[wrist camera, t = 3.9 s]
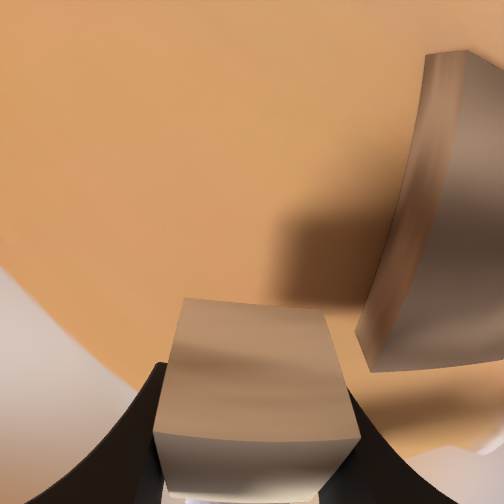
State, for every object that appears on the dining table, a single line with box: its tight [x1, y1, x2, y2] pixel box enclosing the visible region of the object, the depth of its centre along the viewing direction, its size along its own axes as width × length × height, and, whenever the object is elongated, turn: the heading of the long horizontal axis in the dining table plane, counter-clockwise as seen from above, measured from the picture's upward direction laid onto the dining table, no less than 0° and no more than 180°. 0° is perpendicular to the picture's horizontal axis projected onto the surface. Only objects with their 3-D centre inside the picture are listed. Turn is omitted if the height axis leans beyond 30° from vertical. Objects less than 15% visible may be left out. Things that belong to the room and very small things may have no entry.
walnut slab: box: [355, 50, 504, 373], centre depth 12 cm, size 14×10×3 cm
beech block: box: [153, 298, 361, 503], centre depth 9 cm, size 4×4×5 cm
